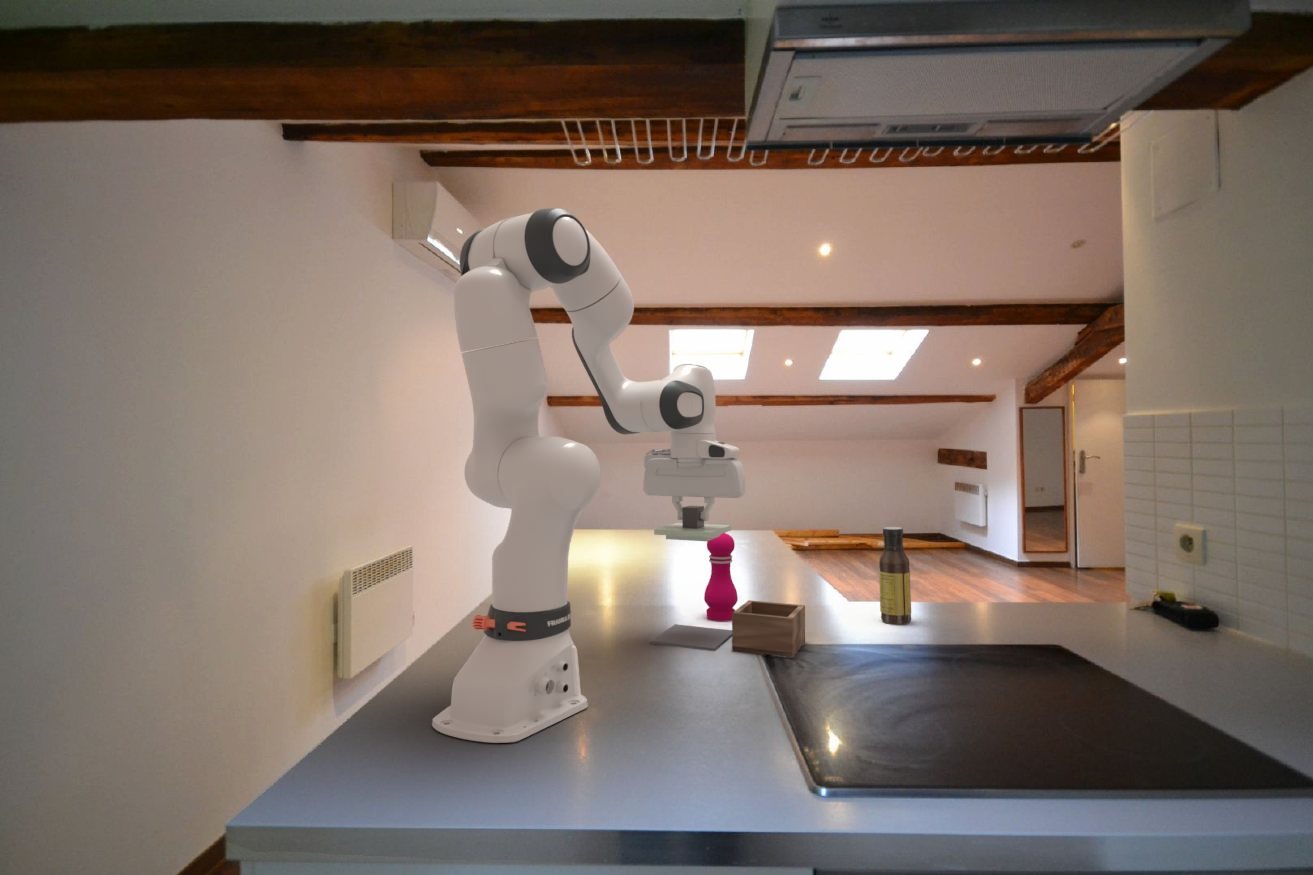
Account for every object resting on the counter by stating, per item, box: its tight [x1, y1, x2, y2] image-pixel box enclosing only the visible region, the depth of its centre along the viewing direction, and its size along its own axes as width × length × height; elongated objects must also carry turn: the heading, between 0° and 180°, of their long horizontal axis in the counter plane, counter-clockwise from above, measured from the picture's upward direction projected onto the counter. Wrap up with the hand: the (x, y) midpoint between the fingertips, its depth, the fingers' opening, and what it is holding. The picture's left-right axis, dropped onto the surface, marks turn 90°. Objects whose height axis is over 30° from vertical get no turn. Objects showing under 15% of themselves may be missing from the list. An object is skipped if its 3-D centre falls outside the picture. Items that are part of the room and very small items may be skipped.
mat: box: [649, 623, 732, 652], centre depth 137 cm, size 13×13×1 cm
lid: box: [653, 505, 732, 542], centre depth 137 cm, size 12×12×6 cm
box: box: [731, 600, 806, 658], centre depth 131 cm, size 11×11×7 cm
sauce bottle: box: [878, 526, 912, 626], centre depth 149 cm, size 6×6×20 cm
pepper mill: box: [703, 532, 739, 622], centre depth 152 cm, size 7×7×20 cm
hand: (693, 520), depth 137 cm, fingers closed on lid, 3 cm apart
